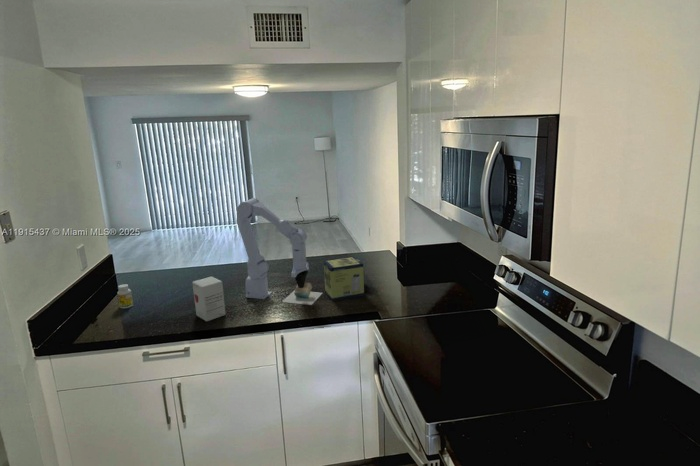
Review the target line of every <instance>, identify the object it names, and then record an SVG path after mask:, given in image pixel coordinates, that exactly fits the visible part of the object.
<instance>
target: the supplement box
mask: <svg viewBox="0 0 700 466" xmlns="http://www.w3.org/2000/svg"><path fill="white" fill-rule="evenodd" d="M223 286H224V284H223V281H222V280H220V279H218V278H216V277H214V276H208V277H205V278H202V279H201V278H200V279H196V280H193V281H192V291H193V298H194V306H195V312H196V314H195V315H196V316H197V317H198V318H200V319H201V320H204V321H205V322H210V321H212V320H214V319H217V318H221V317H223V316H226V306H225V296H224V287H223Z"/></svg>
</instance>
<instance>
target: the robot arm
mask: <svg viewBox="0 0 700 466" xmlns="http://www.w3.org/2000/svg"><path fill="white" fill-rule="evenodd" d="M236 211H237V214H236V224H237V228H238V230H239V233H240V237H241V239H242V243H243V246H244V248H245V252H246V255H247V258H248V260H247V261H246V262H247V263H246V266H247V272H246V273H247V275H248V276H247V277H246V279H245V281H244V282H245V283H244V284H245V294H246V295H245V298H250V299H259V300H260V299H261V300H266V298H268V297H269V296H270V295H272V293H273V292H272V291H269V287H268V286H269V283H268V273H267V272H268V271H269V268H270V267H269V264H268V263H269V262H268V261H266V259H265V257H264V255H261V252H260V248H259V246H258V243H257V239H256V237H255V233H254V230H253V227H252V223H251V220H252V218H254V217H262V218H263V219H265V220H266V221H268V222H270V223H271V224H272V225H274V226H276V231H278V232H279V233H280V234H282V235H283V236H284V237H286V238H287V239H288V240H289V241H288V242H290V244H291V249H292V250H291V251H292V266H293V267H292V271H291V272H290V277H291V278H294V279H295V281H296V286H297V285H298V288H303V287H304V284H305V283H306V278H307V276H308V273H309V270H310V267H309V265H310V264H309V262H307V251H306V250H307V249H306V248H307V247H306V240H307V238H308V235H307V232H306V231H304V230H303V229H302V228H301V229H300V228H298V227H296V226H294V225H293V224H292V223H291V222H290V220H289V219H288V220H287V219H281V218H279V217H278V216H277V215H276V214H275V213H274V212H273V211H271V210H270V209H269V208H268V207H267V206H265V204H264V203H263V202H262V201H260V200H259V199H258V198H255V197H252V198H249V199H248V200H245V201H242V202H240V203H239V204H238V206H237V207H236Z"/></svg>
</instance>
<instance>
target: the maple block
mask: <svg viewBox="0 0 700 466" xmlns="http://www.w3.org/2000/svg"><path fill="white" fill-rule="evenodd" d="M312 288H313V286H312V284H311V282H305V284H304V287H303V288H298V285H297V284H296V287H295V289H294V290H295V292H294V294H295V296H296V297H301V298H309V295H310V292H312Z"/></svg>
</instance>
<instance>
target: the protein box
mask: <svg viewBox="0 0 700 466" xmlns="http://www.w3.org/2000/svg"><path fill="white" fill-rule="evenodd" d="M359 260H360V259H358V258H357V257H355V256H353V257H352V256H351V257H345V258H338V259H333V260H332V259H331V260H324V261H323V273H324V293H325V294H326V295H327V297H328V298H329V299H330V300H331V301H339V300H345V299H346V300H347V299H348V298H349V299H354V298H359V297H364V296H365V281H364V280H365V275H364V273H365V272H364V271H365V270H364V262H362V261H361V260H360V261H359ZM353 297H354V298H353Z"/></svg>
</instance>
